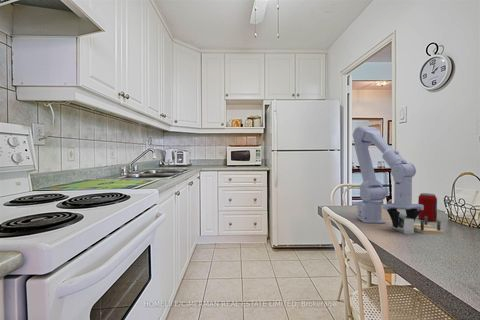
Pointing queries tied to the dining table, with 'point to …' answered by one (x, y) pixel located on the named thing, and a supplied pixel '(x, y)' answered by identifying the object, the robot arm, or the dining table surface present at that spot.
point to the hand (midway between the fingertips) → (402, 227)
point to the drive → (405, 224)
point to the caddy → (428, 227)
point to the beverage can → (428, 206)
